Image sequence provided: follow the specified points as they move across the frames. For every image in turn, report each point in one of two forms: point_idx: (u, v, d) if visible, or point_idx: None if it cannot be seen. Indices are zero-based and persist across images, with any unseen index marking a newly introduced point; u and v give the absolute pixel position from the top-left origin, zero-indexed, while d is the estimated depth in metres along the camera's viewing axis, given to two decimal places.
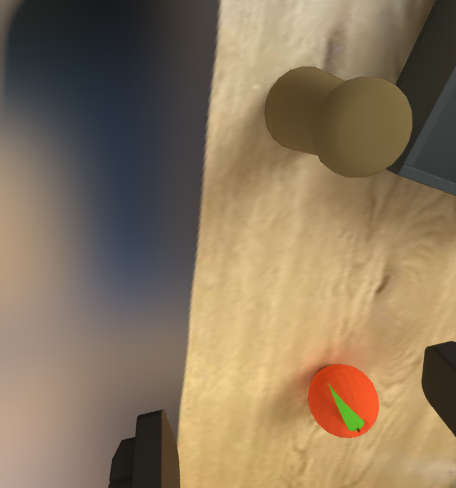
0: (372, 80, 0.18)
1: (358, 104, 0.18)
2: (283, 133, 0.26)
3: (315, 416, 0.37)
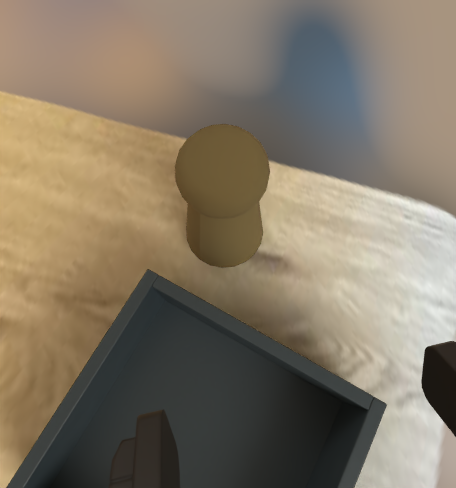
0: (268, 169, 0.20)
1: (252, 143, 0.19)
2: None
3: None
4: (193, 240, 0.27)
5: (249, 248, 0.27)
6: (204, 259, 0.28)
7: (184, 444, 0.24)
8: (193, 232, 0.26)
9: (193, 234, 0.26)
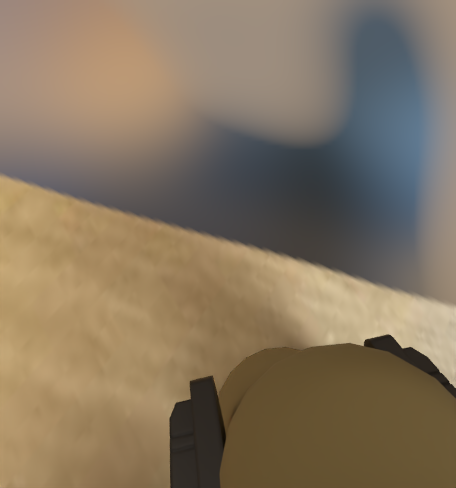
0: None
1: None
2: (271, 356, 0.14)
3: None
4: None
5: None
6: None
7: None
8: None
9: None
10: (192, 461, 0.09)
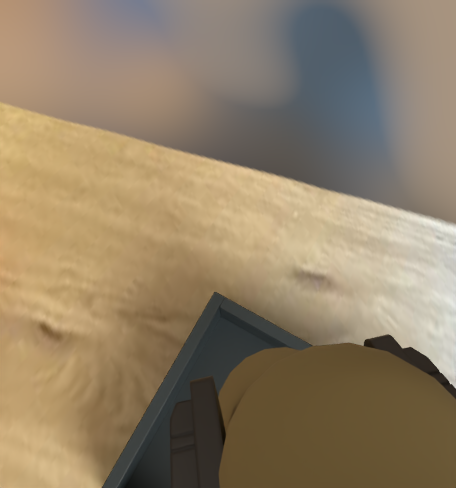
0: None
1: None
2: (271, 356, 0.14)
3: None
4: None
5: None
6: None
7: None
8: None
9: None
10: (192, 460, 0.09)
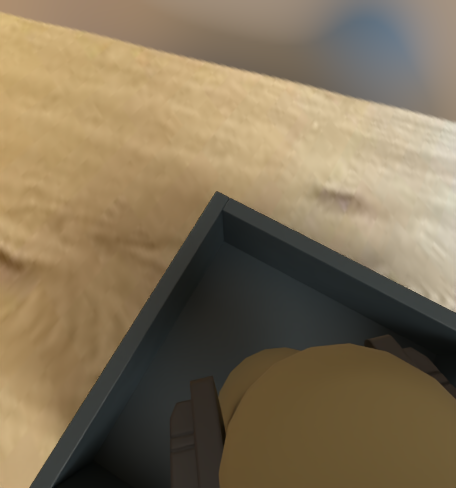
0: None
1: None
2: (271, 356, 0.14)
3: None
4: None
5: None
6: None
7: None
8: None
9: None
10: (192, 460, 0.09)
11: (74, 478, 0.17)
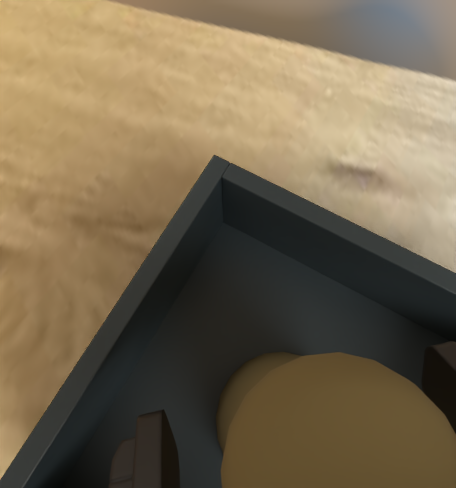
0: None
1: (442, 448, 0.07)
2: (269, 361, 0.15)
3: None
4: None
5: None
6: None
7: None
8: None
9: None
10: None
11: None
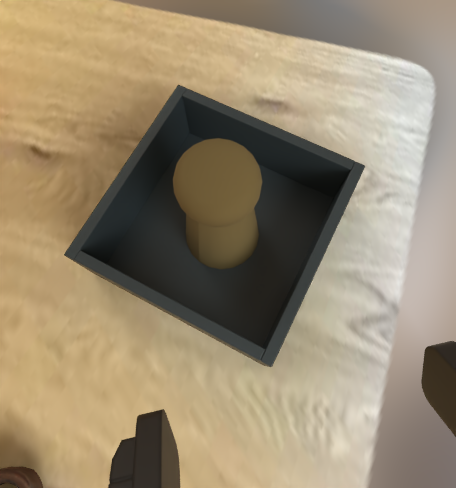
0: (260, 179, 0.21)
1: (244, 156, 0.21)
2: None
3: None
4: (192, 245, 0.28)
5: (246, 250, 0.28)
6: (204, 262, 0.30)
7: None
8: (192, 238, 0.27)
9: (192, 239, 0.27)
10: None
11: None
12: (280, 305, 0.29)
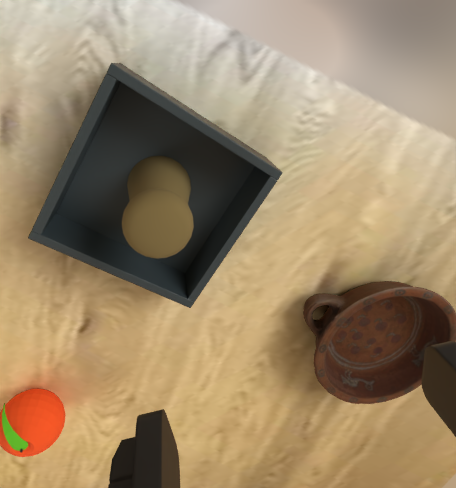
0: (161, 195, 0.26)
1: (145, 211, 0.25)
2: None
3: None
4: None
5: (182, 173, 0.34)
6: None
7: None
8: None
9: None
10: None
11: (187, 286, 0.38)
12: None
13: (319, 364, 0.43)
